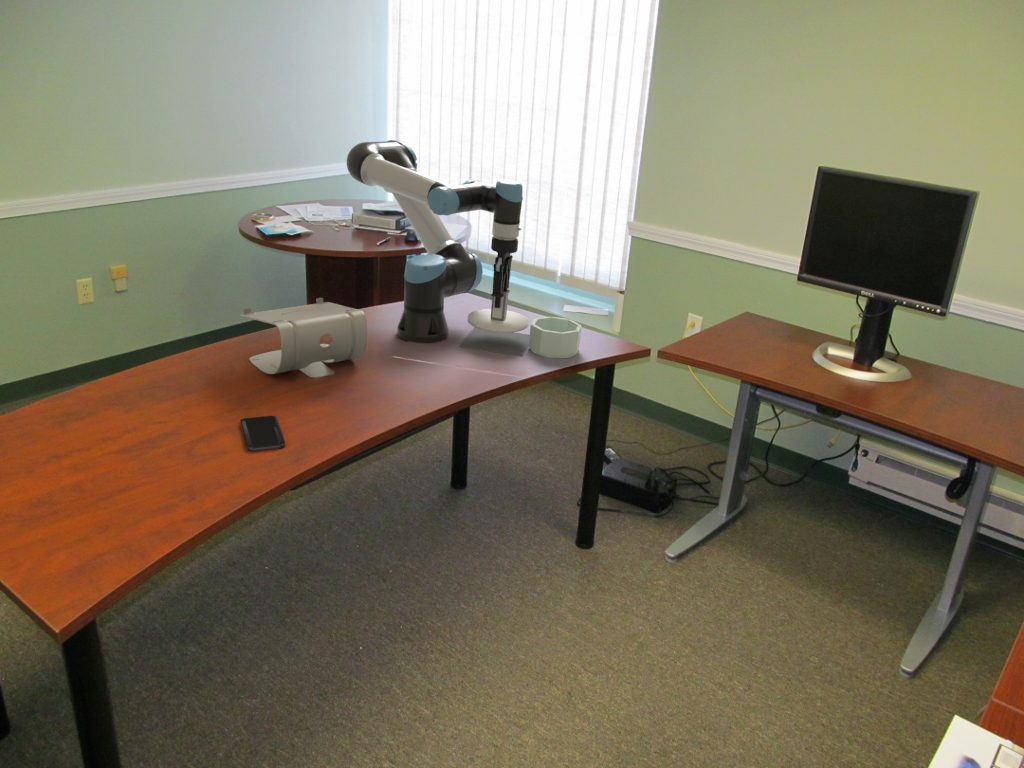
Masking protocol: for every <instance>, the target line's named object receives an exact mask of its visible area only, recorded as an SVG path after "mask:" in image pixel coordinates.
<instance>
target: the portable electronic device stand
mask: <svg viewBox="0 0 1024 768" xmlns="http://www.w3.org/2000/svg"><path fill="white" fill-rule="evenodd" d="M315 300H316V303H312V304H305V305H297V306H290V307H283V308H276V309H269V310H263V311H257V312H256V311H254V312H252V308H251V307H246V308H243V313H241V314H240V315H239V317H242V318H246V319H251V320H255V321H258V322H262V323H266V324H269V325H272V326H275V327H276V328H277V329H278V331H279V334H280V335H279V336H280V344H281V345H280V346H281V347H280V348H281V349H277V350H272V351H267V352H263V353H259V354H256V355H253V356H250V357H249V361H250V363H251V364H252V365H253V366H255V368H257V369H258V370H259V371H261V372H262V373H264V374H266V375H276V374H281V373H285V372H291V371H296V370H298V371H299V372H301V373H302V374H303V375H304V376H306V377H308V378H310V379H318V378H323V377H328V376H332V375H334V374H336V373H335V371H334V370H333V369H331V368H330V367H329V366H327V365H326V364H332V363H338V362H344V361H348V360H353V359H358V358H361V357H362V356H363V355H364V353H365V351H366V347H367V341H368V340H367V339H368V321H367V317H366V314H365V313H364V311H363V310H360V309H357V308H353V307H349V306H345V305H342V304H338V303H334V302H329V301H324V297H318V298H316V299H315ZM324 335H329V336H331V337H330V338H331V343H330V344H328V343H320V340H321V338H322V337H323V336H324Z"/></svg>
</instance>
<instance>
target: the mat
mask: <svg viewBox="0 0 1024 768" xmlns="http://www.w3.org/2000/svg"><path fill="white" fill-rule="evenodd" d="M529 338H530V334H526V333H519V332H510V333H497V332H491V331H486V330H482V329H479V328H476V327H473V328H472V330H471V331H470V332H468V334H467V336H466V337H464V338H463V340H462V341H461V342H460V343H459V344H458V345H457V347H460V348H465V349H471V350H472V349H473V350H479V351H485V352H492V353H499V354H504V355H505V354H506V355H512V356H516V357H517V356H518V357H523V355H524V354H525V352H526V351H527V350H528V348H529Z"/></svg>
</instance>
